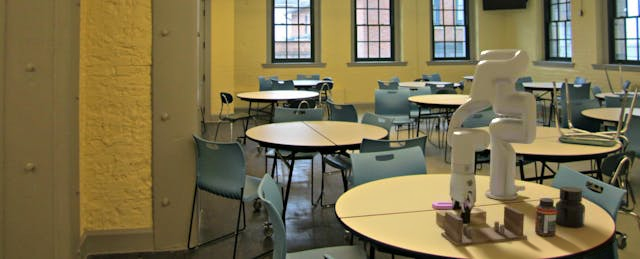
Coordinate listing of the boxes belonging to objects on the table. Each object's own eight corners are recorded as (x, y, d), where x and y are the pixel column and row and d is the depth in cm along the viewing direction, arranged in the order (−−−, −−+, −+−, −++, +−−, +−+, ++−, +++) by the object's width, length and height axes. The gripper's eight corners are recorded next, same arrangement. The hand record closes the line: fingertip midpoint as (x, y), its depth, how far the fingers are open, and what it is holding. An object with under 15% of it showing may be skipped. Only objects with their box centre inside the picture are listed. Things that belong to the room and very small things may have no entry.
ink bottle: (591, 227, 167) (593, 192, 165) (567, 229, 165) (569, 193, 164) (570, 218, 177) (572, 184, 175) (548, 220, 175) (550, 186, 173)
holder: (507, 227, 168) (508, 205, 167) (526, 238, 158) (528, 214, 157) (441, 235, 162) (441, 211, 161) (456, 246, 152) (457, 221, 151)
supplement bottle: (531, 231, 165) (532, 197, 163) (548, 230, 165) (550, 196, 163) (540, 237, 159) (542, 202, 157) (559, 236, 159) (561, 201, 158)
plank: (478, 218, 178) (478, 207, 177) (486, 223, 173) (486, 211, 172) (436, 222, 174) (436, 211, 173) (442, 227, 169) (443, 215, 168)
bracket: (463, 204, 195) (464, 186, 194) (468, 208, 190) (469, 190, 189) (430, 205, 194) (430, 187, 193) (434, 209, 189) (434, 191, 188)
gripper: (486, 173, 163) (484, 227, 166) (459, 162, 180) (458, 212, 182) (465, 174, 162) (463, 229, 164) (440, 163, 178) (439, 214, 180)
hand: (461, 220), depth 173 cm, fingers closed on plank, 5 cm apart
